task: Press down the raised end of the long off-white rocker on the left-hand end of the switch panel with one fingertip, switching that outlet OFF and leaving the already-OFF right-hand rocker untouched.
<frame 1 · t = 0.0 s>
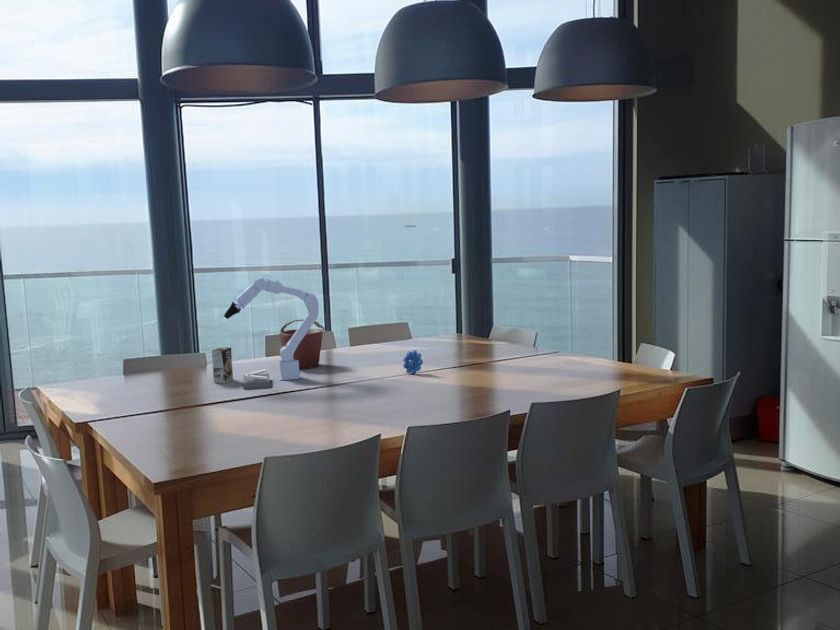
hand: (225, 316, 399), 32 cm above the table, tool tilted 50°, fingers open, 7 cm apart
coffee box: (223, 381, 408), on the table
bucket: (303, 366, 440), on the table
left rocker: (256, 377, 391), point 4 cm above the table, hinge at -10.0°
switch panel: (256, 384, 397), on the table
right rocker: (256, 373, 402), point 4 cm above the table, hinge at 10.0°
blue lobed wheel: (414, 374, 408), on the table
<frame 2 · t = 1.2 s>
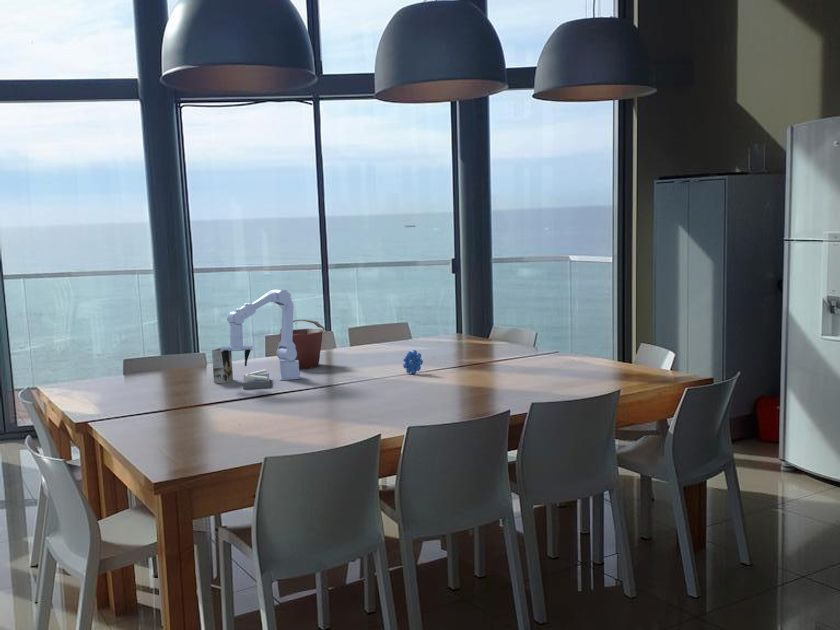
hand: (237, 366, 389), 10 cm above the table, tool pointing down, fingers open, 7 cm apart
nothing on the table moved.
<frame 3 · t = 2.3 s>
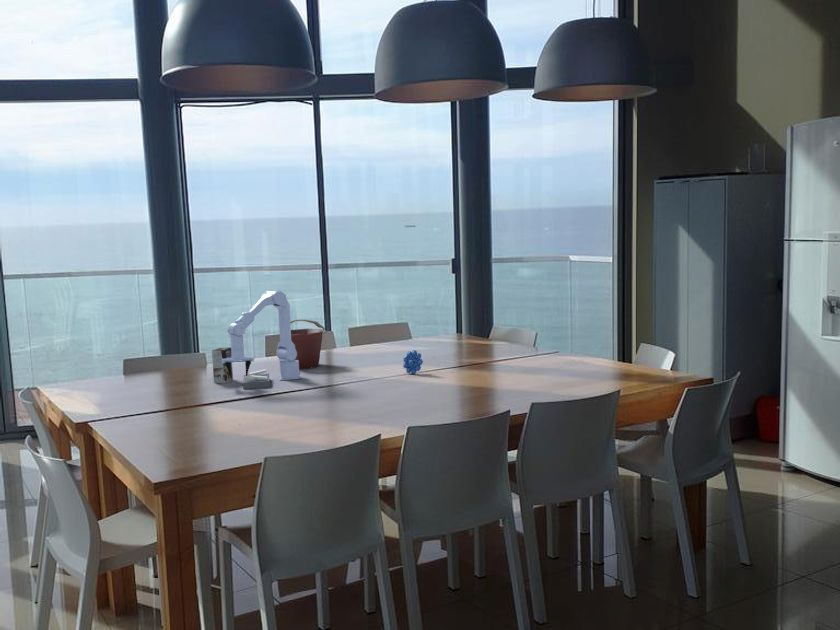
hand: (239, 377, 390), 5 cm above the table, tool pointing down, fingers open, 6 cm apart
left rocker: (256, 377, 391), point 4 cm above the table, hinge at -8.9°, touching gripper
everything else where it was.
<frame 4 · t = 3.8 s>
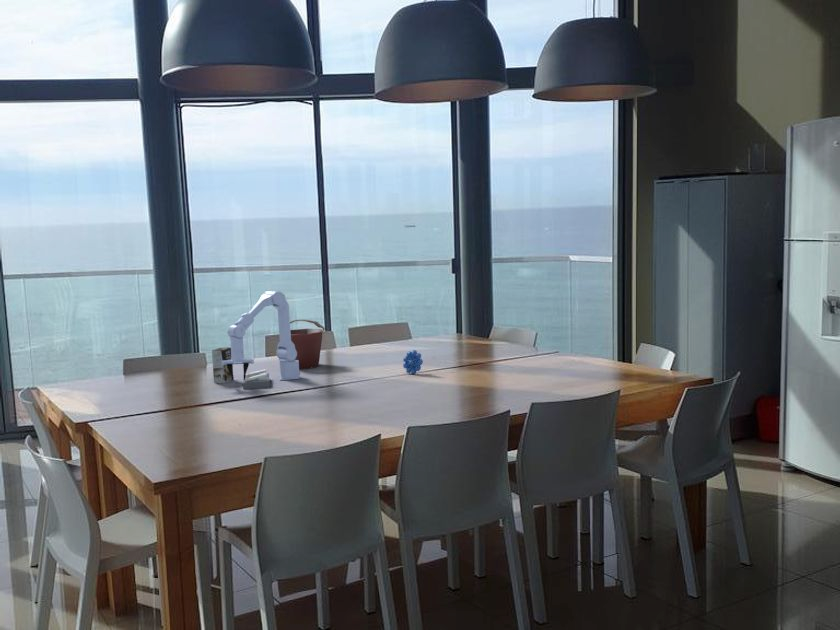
hand: (238, 379, 390), 4 cm above the table, tool pointing down, fingers open, 5 cm apart
left rocker: (256, 377, 391), point 4 cm above the table, hinge at 10.4°, touching gripper, switch panel
everything else where it was.
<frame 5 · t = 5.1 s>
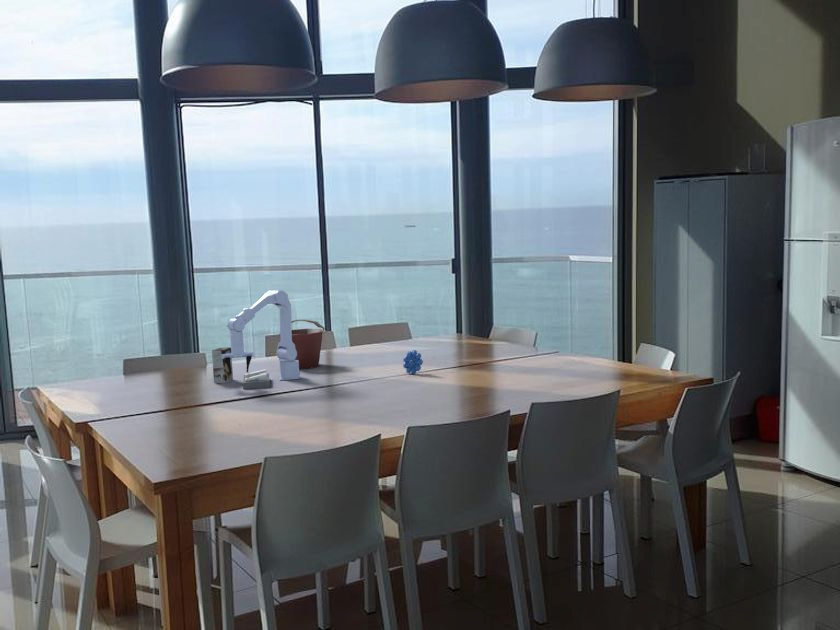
hand: (239, 372, 390), 7 cm above the table, tool pointing down, fingers open, 7 cm apart
left rocker: (256, 377, 391), point 4 cm above the table, hinge at 10.2°
everything else where it was.
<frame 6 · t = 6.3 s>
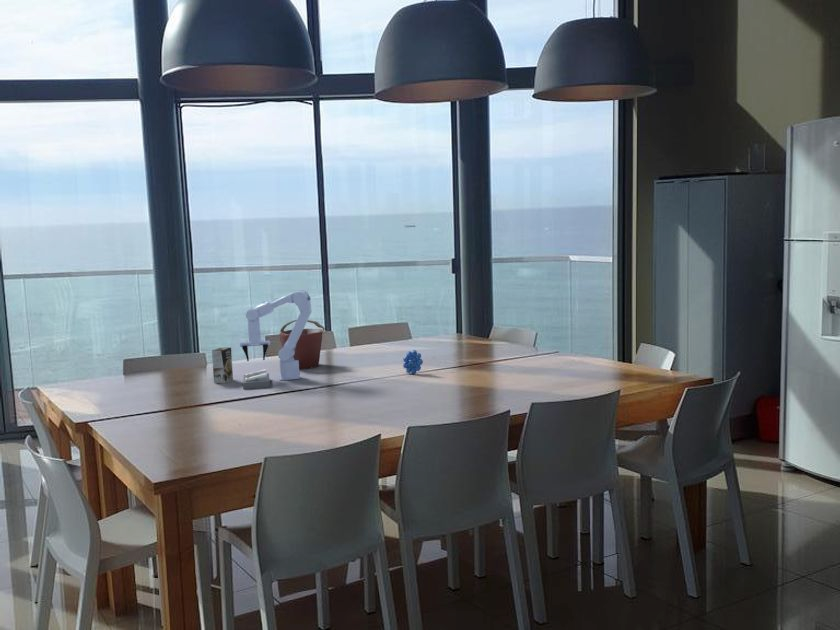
hand: (256, 360, 408), 9 cm above the table, tool pointing down, fingers open, 7 cm apart
nothing on the table moved.
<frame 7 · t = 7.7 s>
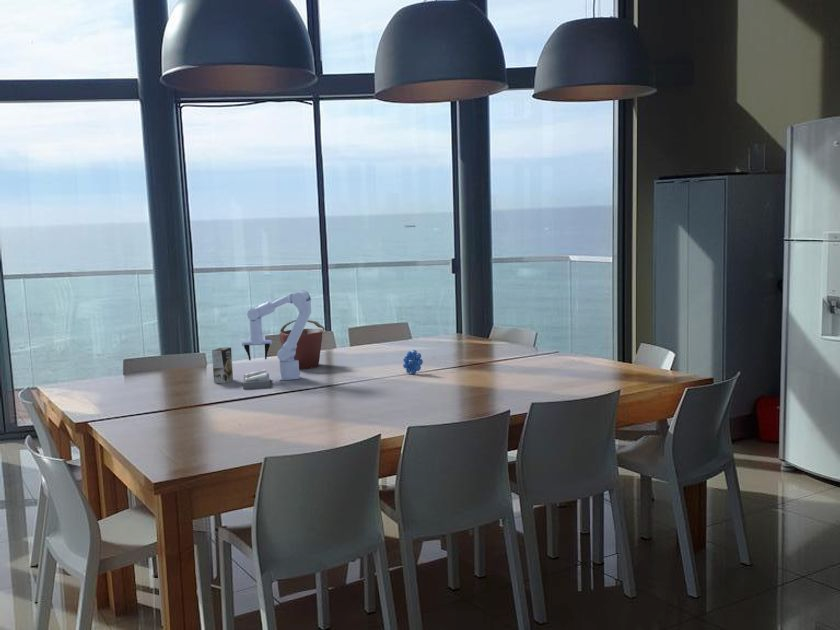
hand: (257, 359, 410), 9 cm above the table, tool pointing down, fingers open, 7 cm apart
nothing on the table moved.
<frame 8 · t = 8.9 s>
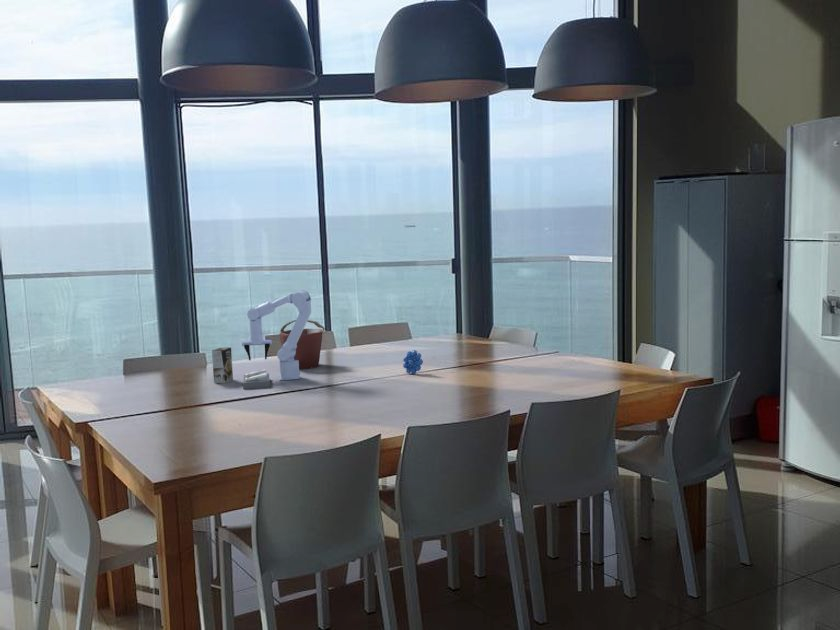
hand: (257, 359, 410), 9 cm above the table, tool pointing down, fingers open, 7 cm apart
nothing on the table moved.
at the end: left rocker at +10° (first picture: -10°); right rocker at +10° (first picture: +10°) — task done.
